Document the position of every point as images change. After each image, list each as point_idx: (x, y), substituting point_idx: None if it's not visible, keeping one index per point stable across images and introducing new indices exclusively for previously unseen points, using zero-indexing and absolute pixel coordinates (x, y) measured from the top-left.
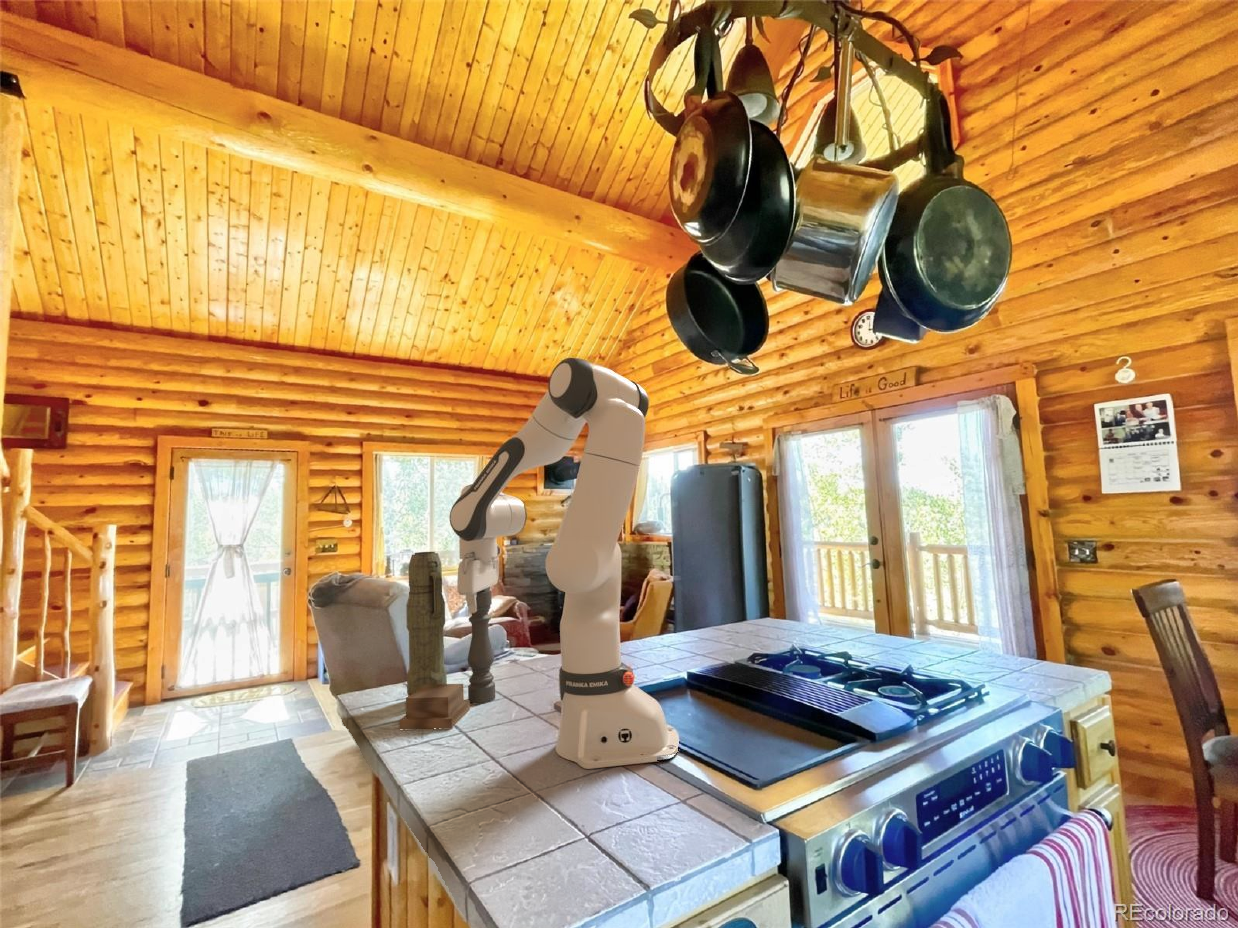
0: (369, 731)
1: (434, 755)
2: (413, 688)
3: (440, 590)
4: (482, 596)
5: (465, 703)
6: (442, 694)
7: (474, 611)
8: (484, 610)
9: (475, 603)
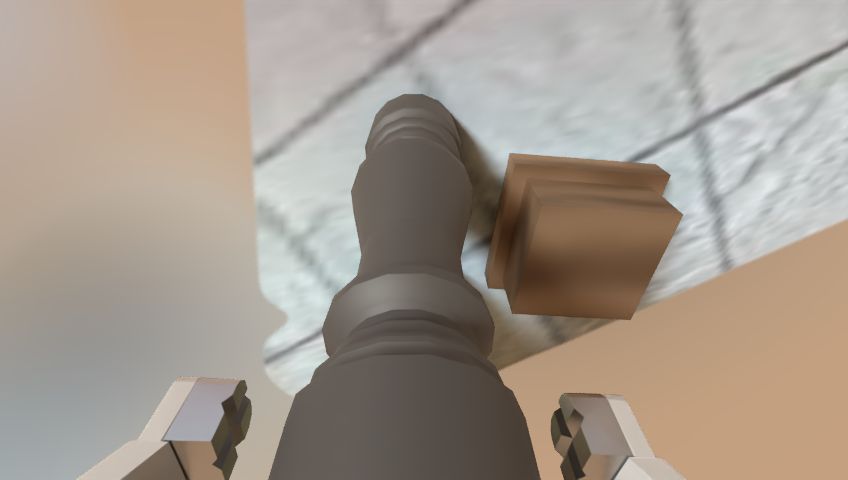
0: (585, 330)
1: (824, 157)
2: None
3: None
4: None
5: (541, 169)
6: (644, 238)
7: (623, 406)
8: (477, 354)
9: (674, 474)
